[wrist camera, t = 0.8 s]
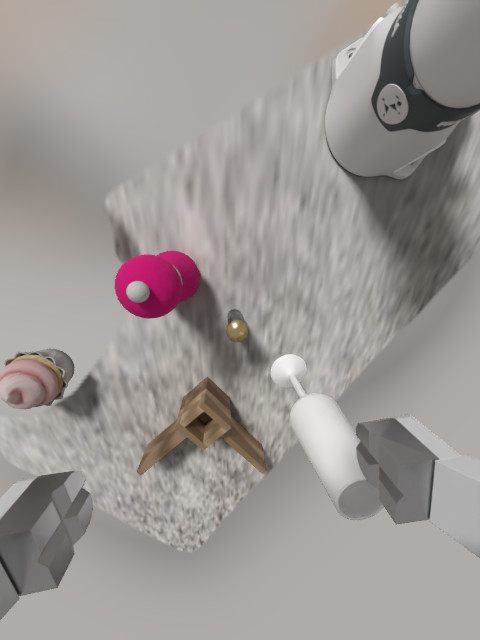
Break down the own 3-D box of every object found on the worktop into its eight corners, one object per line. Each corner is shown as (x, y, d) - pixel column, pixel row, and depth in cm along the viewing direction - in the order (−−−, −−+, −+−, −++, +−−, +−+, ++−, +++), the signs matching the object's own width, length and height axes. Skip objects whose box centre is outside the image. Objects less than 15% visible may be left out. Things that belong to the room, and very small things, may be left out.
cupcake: (83, 394, 42) (41, 435, 33) (25, 385, 41) (-35, 424, 32) (87, 345, 40) (44, 373, 31) (27, 334, 39) (-37, 359, 29)
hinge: (204, 489, 49) (200, 532, 42) (137, 436, 45) (120, 473, 38) (271, 436, 47) (280, 472, 40) (207, 376, 43) (204, 402, 35)
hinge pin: (235, 303, 40) (238, 316, 32) (247, 316, 41) (253, 331, 33) (222, 315, 40) (221, 330, 32) (233, 328, 41) (236, 346, 33)
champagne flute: (308, 384, 45) (399, 519, 22) (273, 391, 45) (327, 535, 22) (304, 351, 43) (399, 460, 20) (268, 358, 43) (320, 476, 20)
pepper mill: (190, 244, 37) (155, 230, 18) (209, 287, 39) (195, 317, 20) (147, 261, 37) (67, 267, 18) (168, 304, 39) (115, 349, 20)
